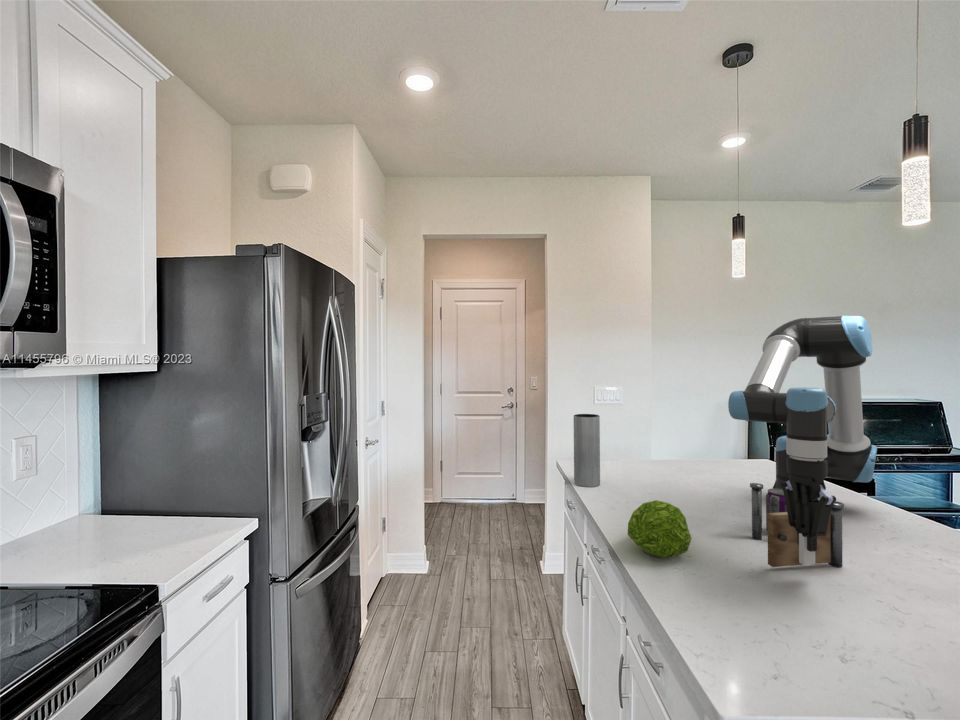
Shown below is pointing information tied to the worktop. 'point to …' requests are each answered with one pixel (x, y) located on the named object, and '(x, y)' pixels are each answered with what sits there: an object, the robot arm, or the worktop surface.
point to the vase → (587, 450)
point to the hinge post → (836, 535)
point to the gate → (791, 542)
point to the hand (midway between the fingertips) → (807, 563)
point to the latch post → (756, 510)
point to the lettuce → (659, 529)
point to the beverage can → (775, 502)
